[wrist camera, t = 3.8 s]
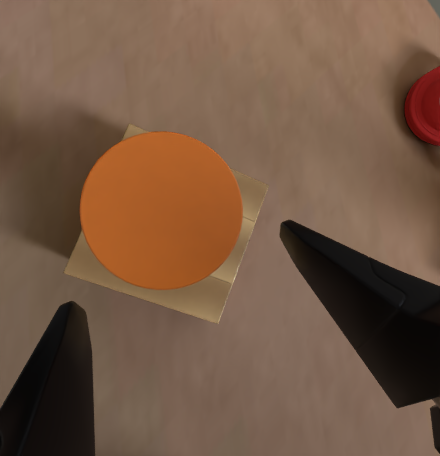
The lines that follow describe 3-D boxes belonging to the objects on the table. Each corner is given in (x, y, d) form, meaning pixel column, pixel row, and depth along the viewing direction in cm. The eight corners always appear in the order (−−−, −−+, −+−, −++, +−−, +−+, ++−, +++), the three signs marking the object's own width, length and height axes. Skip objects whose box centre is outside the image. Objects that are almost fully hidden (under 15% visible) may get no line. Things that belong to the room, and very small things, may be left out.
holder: (211, 308, 20) (218, 324, 16) (84, 265, 18) (62, 273, 15) (254, 193, 21) (269, 185, 17) (137, 142, 19) (128, 122, 16)
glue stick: (188, 257, 20) (211, 312, 6) (143, 241, 19) (49, 257, 5) (205, 214, 20) (264, 169, 6) (161, 196, 19) (118, 102, 6)
